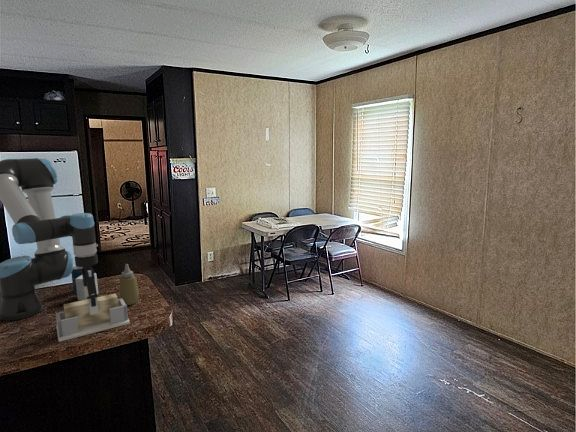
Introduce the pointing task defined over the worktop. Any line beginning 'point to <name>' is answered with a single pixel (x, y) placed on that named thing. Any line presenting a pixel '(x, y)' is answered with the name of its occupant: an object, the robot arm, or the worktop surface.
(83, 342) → the worktop surface
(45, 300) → the worktop surface
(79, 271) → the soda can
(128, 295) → the squeeze bottle
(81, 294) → the small box
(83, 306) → the rail
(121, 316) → the bracket board
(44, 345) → the worktop surface
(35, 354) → the worktop surface
